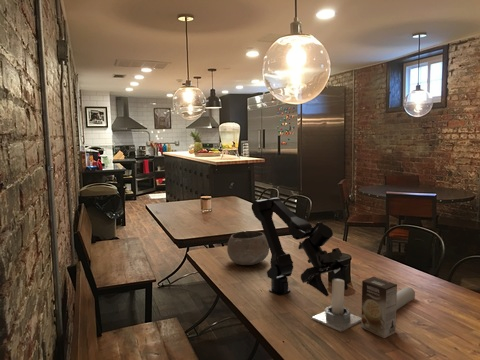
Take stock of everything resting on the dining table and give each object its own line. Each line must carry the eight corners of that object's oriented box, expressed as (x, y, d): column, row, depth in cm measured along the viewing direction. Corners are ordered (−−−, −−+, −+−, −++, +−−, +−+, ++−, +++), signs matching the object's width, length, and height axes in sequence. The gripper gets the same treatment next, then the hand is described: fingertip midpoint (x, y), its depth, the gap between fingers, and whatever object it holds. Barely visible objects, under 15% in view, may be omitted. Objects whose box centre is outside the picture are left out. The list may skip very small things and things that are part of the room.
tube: (402, 285, 155) (370, 304, 138) (415, 284, 151) (384, 303, 134) (406, 299, 154) (375, 319, 137) (419, 298, 151) (389, 319, 133)
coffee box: (360, 327, 130) (360, 280, 128) (372, 322, 133) (373, 275, 131) (384, 338, 122) (385, 288, 120) (396, 332, 126) (398, 283, 124)
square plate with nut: (312, 319, 136) (312, 309, 136) (334, 309, 144) (334, 300, 143) (341, 332, 127) (341, 322, 126) (362, 320, 134) (363, 311, 134)
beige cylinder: (329, 318, 134) (330, 281, 133) (333, 313, 138) (334, 277, 136) (341, 321, 132) (342, 284, 131) (344, 316, 136) (345, 279, 134)
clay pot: (237, 273, 184) (237, 241, 182) (221, 260, 203) (220, 231, 201) (277, 266, 192) (277, 235, 191) (258, 254, 211) (257, 227, 210)
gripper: (306, 245, 132) (330, 288, 124) (345, 237, 142) (369, 275, 134) (290, 262, 139) (312, 303, 131) (328, 253, 149) (351, 290, 141)
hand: (337, 292), depth 134 cm, fingers open, 9 cm apart
